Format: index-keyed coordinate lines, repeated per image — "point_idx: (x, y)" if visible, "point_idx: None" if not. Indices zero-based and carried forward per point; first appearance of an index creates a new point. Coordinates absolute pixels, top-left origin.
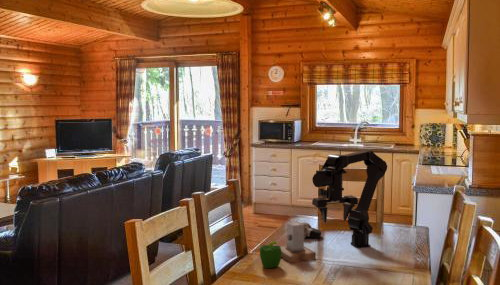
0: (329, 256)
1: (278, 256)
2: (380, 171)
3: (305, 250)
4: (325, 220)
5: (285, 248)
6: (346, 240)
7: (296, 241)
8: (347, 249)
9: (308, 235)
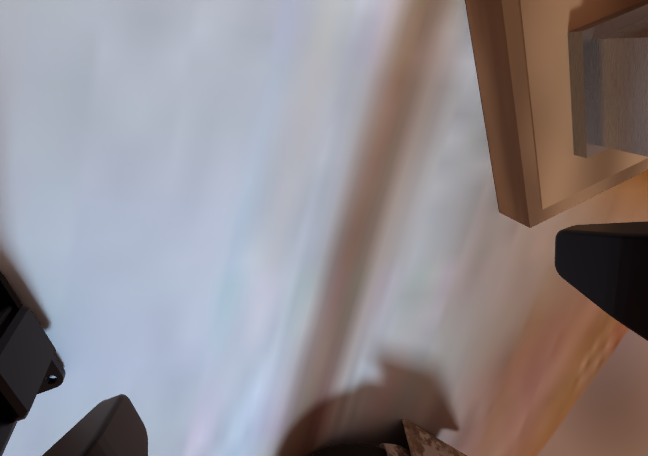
0: (334, 33)
1: None
2: None
3: (560, 49)
4: (617, 227)
5: None
6: None
7: None
8: (120, 227)
9: (390, 447)
